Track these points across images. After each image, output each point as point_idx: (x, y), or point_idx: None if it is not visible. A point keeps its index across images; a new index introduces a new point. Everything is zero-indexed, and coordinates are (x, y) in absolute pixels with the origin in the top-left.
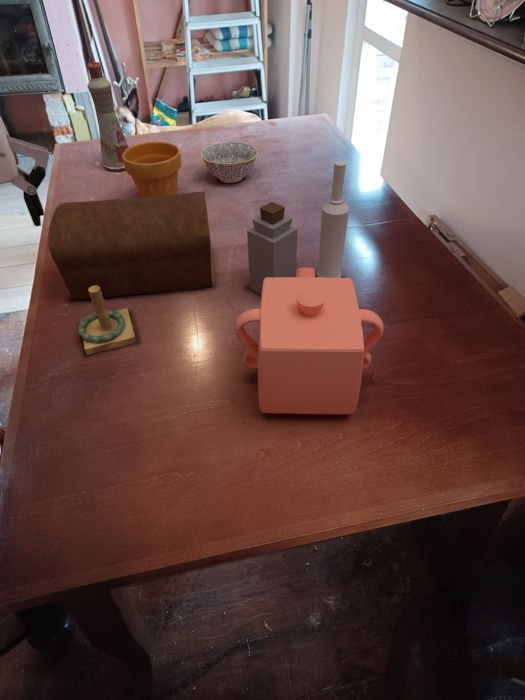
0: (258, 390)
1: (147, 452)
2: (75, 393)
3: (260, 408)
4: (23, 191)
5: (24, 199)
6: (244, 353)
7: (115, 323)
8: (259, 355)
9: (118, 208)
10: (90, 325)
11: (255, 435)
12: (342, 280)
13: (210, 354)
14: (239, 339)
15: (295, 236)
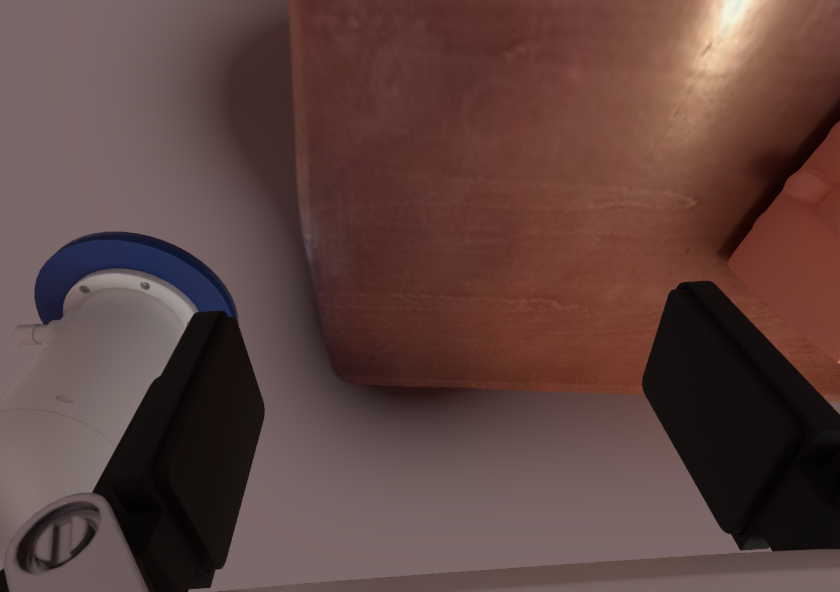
0: (757, 279)
1: (525, 260)
2: (421, 83)
3: (731, 266)
4: (766, 481)
5: (723, 527)
6: (806, 191)
7: None
8: (824, 334)
9: None
10: None
11: (687, 277)
12: None
13: (740, 57)
14: (829, 229)
15: None
